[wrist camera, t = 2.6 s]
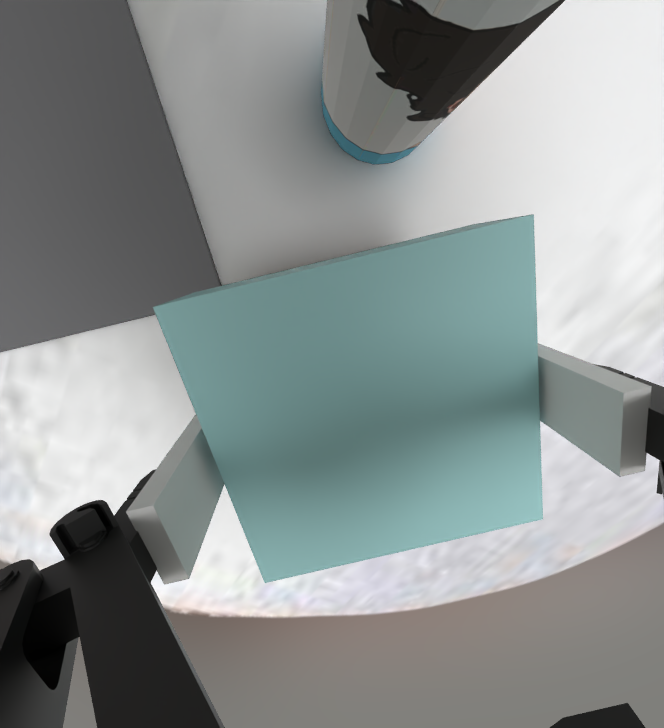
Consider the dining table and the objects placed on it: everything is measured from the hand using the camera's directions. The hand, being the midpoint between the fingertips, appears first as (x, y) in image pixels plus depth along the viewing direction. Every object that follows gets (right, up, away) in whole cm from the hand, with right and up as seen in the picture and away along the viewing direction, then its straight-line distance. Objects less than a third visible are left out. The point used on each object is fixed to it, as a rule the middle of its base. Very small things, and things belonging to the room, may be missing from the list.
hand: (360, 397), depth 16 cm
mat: (-19, +12, +4) cm, 23 cm away
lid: (0, +1, +2) cm, 2 cm away
